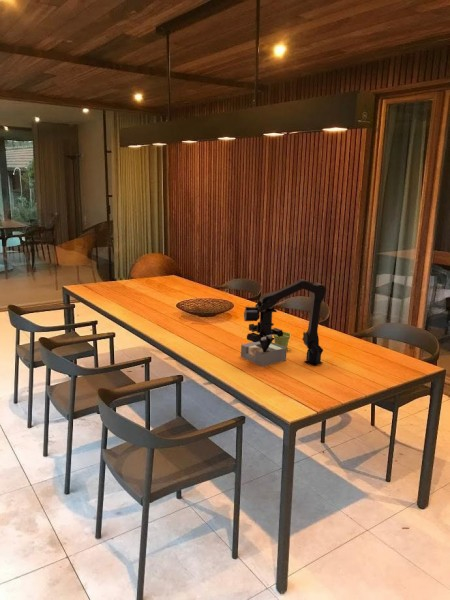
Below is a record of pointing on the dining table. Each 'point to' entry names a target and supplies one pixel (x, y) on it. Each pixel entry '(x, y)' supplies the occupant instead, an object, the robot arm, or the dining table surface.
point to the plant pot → (282, 339)
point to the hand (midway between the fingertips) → (264, 351)
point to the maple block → (255, 348)
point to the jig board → (264, 354)
